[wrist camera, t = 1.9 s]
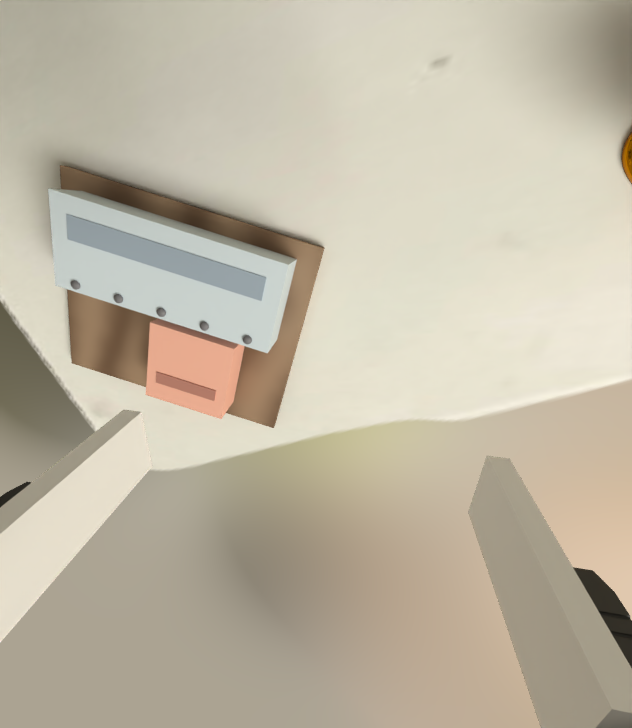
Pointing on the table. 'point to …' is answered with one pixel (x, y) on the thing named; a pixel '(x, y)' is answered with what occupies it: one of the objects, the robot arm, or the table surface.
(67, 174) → the backing board
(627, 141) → the figurine
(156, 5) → the table surface
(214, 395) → the stub
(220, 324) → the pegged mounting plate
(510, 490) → the robot arm
